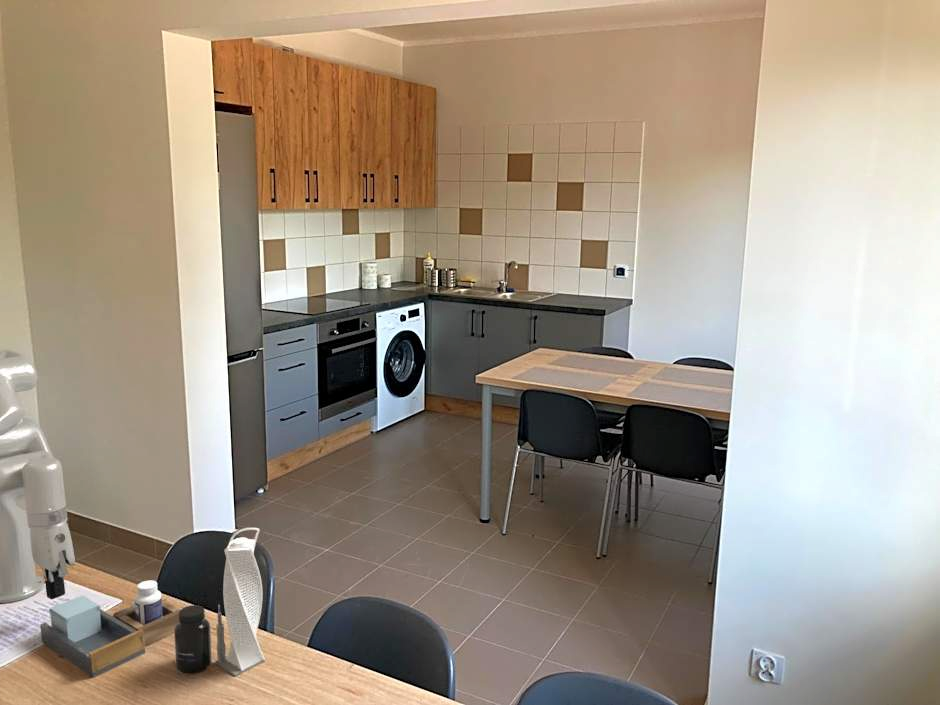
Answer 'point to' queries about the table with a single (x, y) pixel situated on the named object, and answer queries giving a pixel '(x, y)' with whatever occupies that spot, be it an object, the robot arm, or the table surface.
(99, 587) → the table surface
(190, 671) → the supplement bottle
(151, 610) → the pill bottle
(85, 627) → the pale teal block
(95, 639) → the bay
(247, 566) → the skyscraper
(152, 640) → the open wooden box
